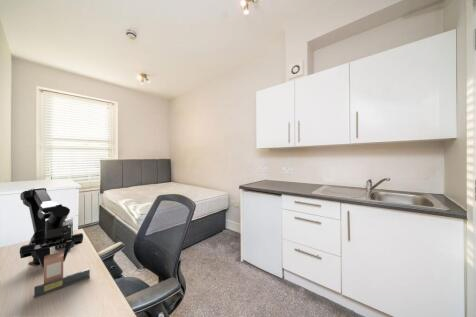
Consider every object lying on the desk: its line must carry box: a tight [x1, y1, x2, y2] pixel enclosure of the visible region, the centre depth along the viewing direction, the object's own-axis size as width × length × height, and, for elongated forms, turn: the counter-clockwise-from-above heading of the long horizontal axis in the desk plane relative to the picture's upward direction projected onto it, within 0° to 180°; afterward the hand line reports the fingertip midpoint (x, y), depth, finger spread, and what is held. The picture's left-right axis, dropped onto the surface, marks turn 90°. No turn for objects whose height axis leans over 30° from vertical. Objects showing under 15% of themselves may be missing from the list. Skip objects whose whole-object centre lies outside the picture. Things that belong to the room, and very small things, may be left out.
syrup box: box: [63, 216, 74, 235], centre depth 110 cm, size 6×6×14 cm
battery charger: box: [54, 226, 71, 250], centre depth 104 cm, size 7×4×11 cm, turn 140°
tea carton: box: [43, 250, 64, 284], centre depth 74 cm, size 6×6×10 cm
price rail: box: [33, 268, 91, 299], centre depth 73 cm, size 2×16×4 cm, turn 136°
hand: (53, 264), depth 73 cm, fingers closed on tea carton, 5 cm apart
